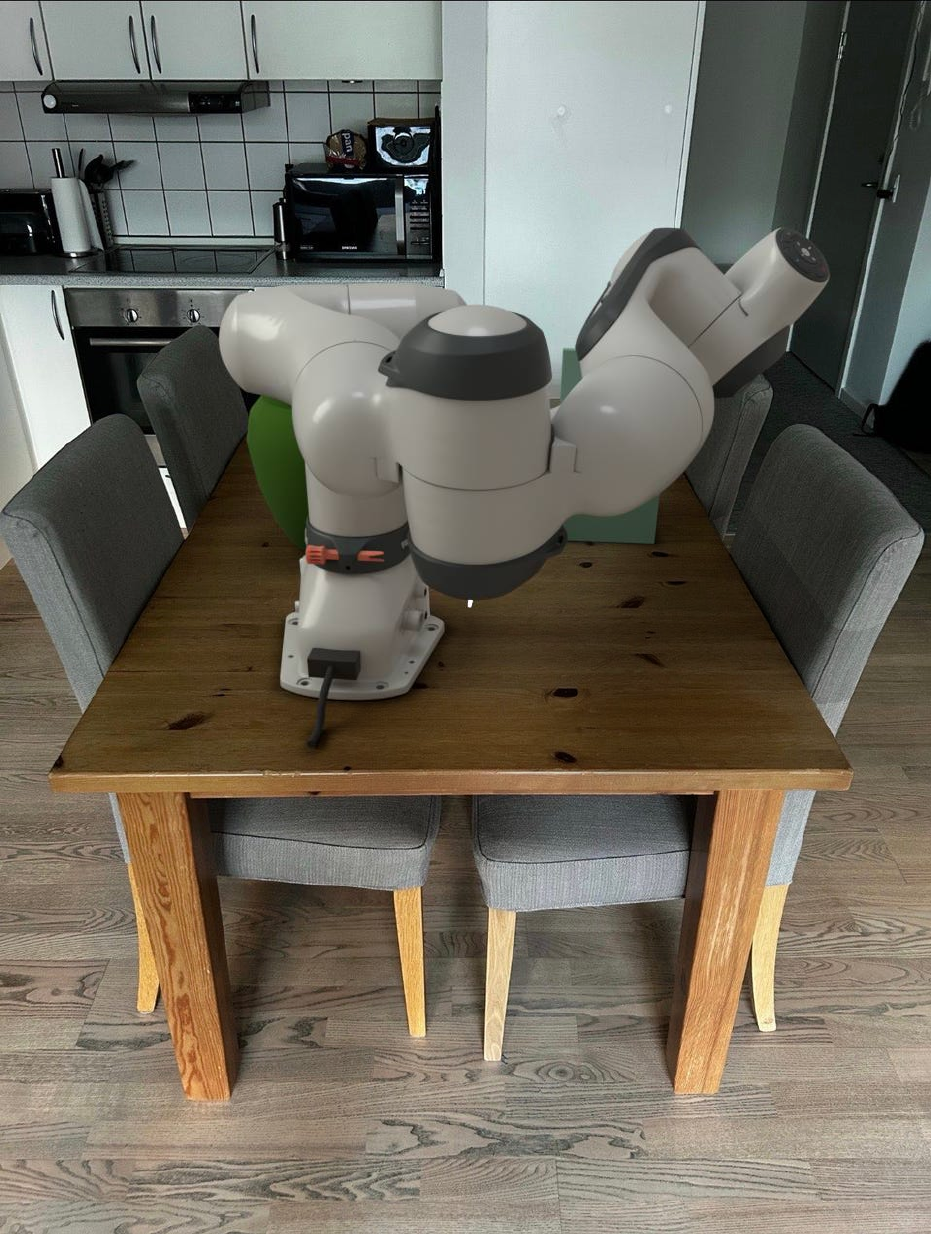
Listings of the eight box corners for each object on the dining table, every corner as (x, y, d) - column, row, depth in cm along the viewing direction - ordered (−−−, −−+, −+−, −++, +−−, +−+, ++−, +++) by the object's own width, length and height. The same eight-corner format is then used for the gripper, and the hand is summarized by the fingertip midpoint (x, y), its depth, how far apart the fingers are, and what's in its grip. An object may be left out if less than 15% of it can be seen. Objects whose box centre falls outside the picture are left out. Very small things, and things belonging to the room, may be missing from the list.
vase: (376, 582, 123) (369, 396, 111) (235, 568, 127) (213, 386, 115) (413, 523, 140) (410, 357, 128) (288, 512, 143) (273, 349, 131)
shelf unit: (654, 544, 134) (673, 374, 123) (554, 540, 135) (564, 371, 124) (645, 508, 146) (662, 350, 134) (554, 505, 146) (563, 348, 135)
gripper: (651, 378, 103) (592, 440, 115) (790, 358, 112) (721, 417, 124) (629, 328, 104) (573, 395, 116) (768, 312, 113) (703, 375, 125)
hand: (651, 406), depth 120 cm, fingers closed on beer can, 6 cm apart
